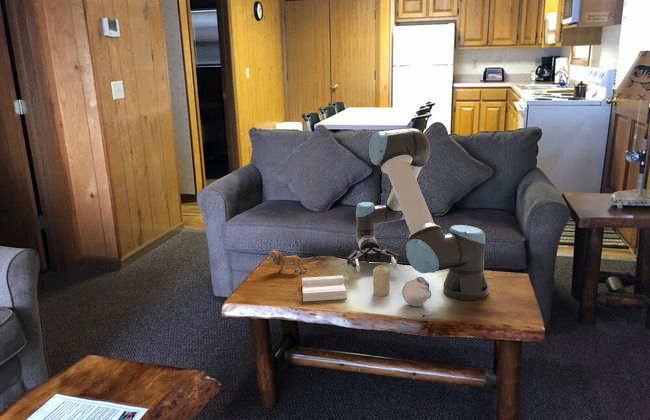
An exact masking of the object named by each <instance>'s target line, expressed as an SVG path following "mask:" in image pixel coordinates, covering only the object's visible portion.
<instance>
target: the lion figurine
mask: <svg viewBox="0 0 650 420" xmlns="http://www.w3.org/2000/svg"><path fill="white" fill-rule="evenodd" d="M268 258H269V261H270V262H271V263H273V264H275V266H279V274H282V273H284V266H290V265H292V264H293V265H294V266H295V268H294V271H298V270H300V271H298V273H299V274H303V270H304V271H308V269H307V268H305V266H304V264H303V262H302V261H303V260H302V259H301V258H300V257H299V256H297V255H296V254H295V255H286V254H285V253H283V252H281V251H279V250H275V249H273V250H271V251H270V252H269V257H268Z"/></svg>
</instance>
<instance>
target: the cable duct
mask: <svg viewBox="0 0 650 420" xmlns="http://www.w3.org/2000/svg"><path fill="white" fill-rule="evenodd" d="M301 285H302V302H312V301H313V302H315V301H316V302H317V301H329V300H331V301H332V300H345V299H347V298H348V297H347V295H348V294H347V293H348V292H347V288H346V287H345V284H344V275H330V276H327V275H326V276H311V277H309V276H308V277H301Z"/></svg>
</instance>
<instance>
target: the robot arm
mask: <svg viewBox="0 0 650 420" xmlns="http://www.w3.org/2000/svg"><path fill="white" fill-rule="evenodd" d="M368 154H369V156H368V157H369V159H370V162H371V163H372V164H373V165H376V166H379V168H380V170H381V172H383V173H385V174H387V176H388V178H389V181H390V183H391V186H392V188H391V191H390V192H389V196H388V199H387V201H386V203H385V204H381V205H380V204H379V205H375V204H374V203H373V202H370V201H362V202H359V203H357V205H356V209H355V210H356V211H355V218H356V219H355V220H356V233H355V240H356V243H357V245H358V248H359V250H357V249H353V252H352V253H351V254H349V256H348V257H346V262H347V263H346V264H347V265H348V266H350V265H351V267H353V268H355V269H356V273H360V263H361V262H363V261H366V260H373V259H378V260H384V261H387V262H390V263H391V266H392V268H393V269H394V271H397V265H398V264H399V263H400V262H401V254H399V253H397V252H395V251H393V250H391V249H389V248H388V247H385V248H384V249H381V248H380V246H379V244H378V242H377V240H376V233H375V231H376V225H380V224H386V223H391V222H399V221H401V220H404V221H405V222H406V225H407V228H408V230H409V234H408V237H407V243H406V246H405V251H406V253H405V254H406V258H407V260H408V263H409V264H410V266H411V267H412V269H413V270H414V271H416V272H418V273H420V274H428V273H431V274H433V273H436V272H439V271H444V270H448V271H447V273H446V276H445V280H444V282H443V285H442V286H443V287H442V288H443V289H442V291H443V293H444V294H445V295H446V296H448V297H450V298H453V299H455V300H460V301H461V300H462V301H477V300H482V299H484V298H486V297H487V296H488V295H489V283H488V281H487V278H486V274H485V252H486V251H485V250H486V244H487V243H486V234H485V232H484V230H482V229H481V228H479V227H475V226H471V225H466V224H465V225H463V224H455V225H451V226H450V227H449V229H448V231H449V232H447V233H444V232H443V229H442V227H441V226H440V225H439V224H436V223H435V222H434V220H433V216H432V214H431V212H430V209H429V208H428V205H427V202H426V199H425V197H424V195H423V192H422V191H421V188H420V186H419V183H418V180H417V179H418V177H419V175H420V172H421V170H422V168H423V167H425V166H426V165H427V163H428V161H429V158H430V155H431V144H430V141H429V139H428V137H427V135H426V134H425V133H424V132H423V131H422V130H420V129H417V128H415V127H414V128H412V127H408V128H399V129H389V130H386V129H385V130H382V131H381V130H380V131H376V132H374V133H373V134H372V135H371V137H370V140H369V146H368Z"/></svg>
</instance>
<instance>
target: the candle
mask: <svg viewBox="0 0 650 420" xmlns="http://www.w3.org/2000/svg"><path fill="white" fill-rule="evenodd" d="M372 273H373V274H372V280H373V281H372V282H373V283H372V284H373V285H372V286H373V287H372V288H373V294H374V296H377V297H386V296H389V295H390V269H389V268H388V267H386V266H385V265H382V264H381V265H379V264H378V265H377V266H375V268H374V269H372Z"/></svg>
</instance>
